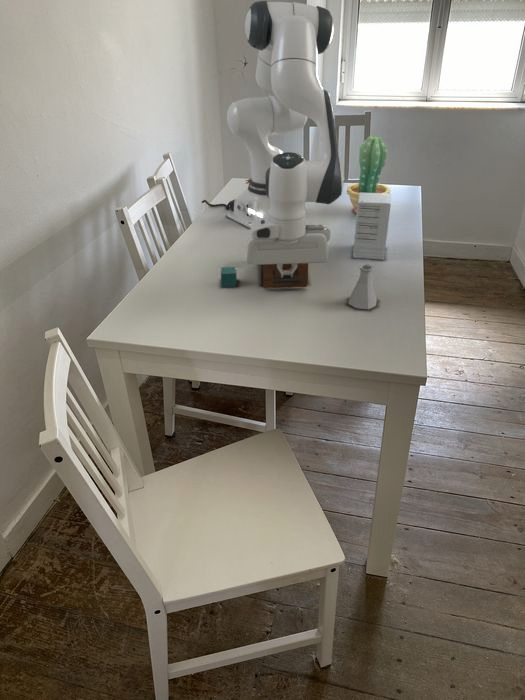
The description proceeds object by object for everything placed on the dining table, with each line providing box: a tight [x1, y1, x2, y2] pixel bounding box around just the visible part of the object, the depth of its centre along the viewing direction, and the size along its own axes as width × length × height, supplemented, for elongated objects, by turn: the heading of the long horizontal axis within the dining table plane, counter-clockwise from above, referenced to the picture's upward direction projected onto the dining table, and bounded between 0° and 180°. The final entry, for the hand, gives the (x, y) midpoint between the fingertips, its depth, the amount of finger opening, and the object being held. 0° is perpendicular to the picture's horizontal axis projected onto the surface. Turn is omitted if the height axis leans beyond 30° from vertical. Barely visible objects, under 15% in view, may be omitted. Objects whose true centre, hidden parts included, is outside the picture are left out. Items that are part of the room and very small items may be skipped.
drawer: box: [262, 263, 309, 289], centre depth 141 cm, size 21×11×7 cm, turn 2°
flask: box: [347, 263, 378, 310], centre depth 131 cm, size 7×7×10 cm
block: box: [220, 266, 238, 288], centre depth 142 cm, size 4×4×4 cm
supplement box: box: [352, 193, 392, 261], centre depth 154 cm, size 10×9×17 cm
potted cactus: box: [346, 135, 391, 214], centre depth 182 cm, size 15×15×25 cm
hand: (286, 278), depth 134 cm, fingers closed
